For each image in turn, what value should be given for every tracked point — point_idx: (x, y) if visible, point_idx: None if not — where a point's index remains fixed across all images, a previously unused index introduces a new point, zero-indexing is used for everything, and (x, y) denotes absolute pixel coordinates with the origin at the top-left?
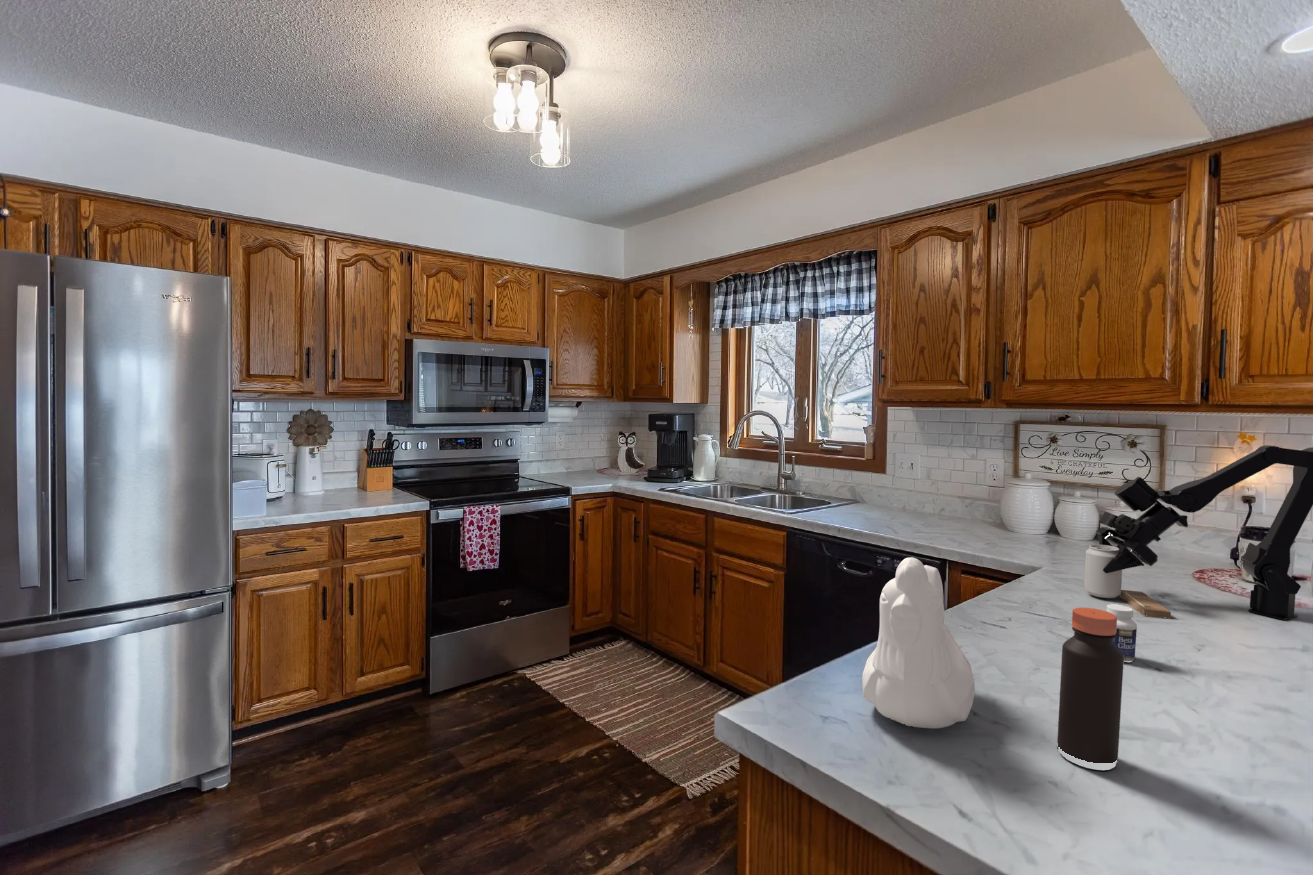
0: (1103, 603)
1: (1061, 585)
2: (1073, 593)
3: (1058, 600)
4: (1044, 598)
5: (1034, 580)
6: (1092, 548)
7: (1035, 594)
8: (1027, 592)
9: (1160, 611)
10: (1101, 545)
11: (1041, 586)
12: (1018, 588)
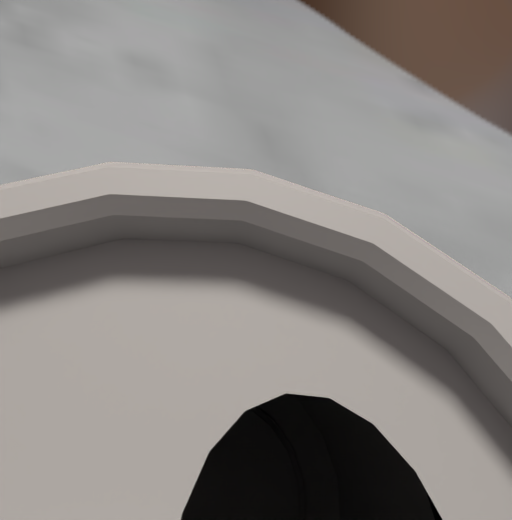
0: None
1: None
2: None
3: (38, 143)
4: (71, 82)
5: (502, 164)
6: (35, 192)
7: (152, 65)
8: (186, 39)
9: None
10: None
11: (360, 157)
12: (262, 23)
